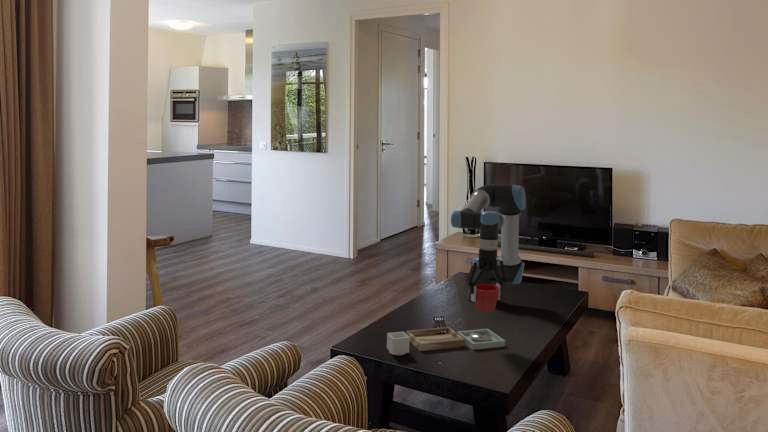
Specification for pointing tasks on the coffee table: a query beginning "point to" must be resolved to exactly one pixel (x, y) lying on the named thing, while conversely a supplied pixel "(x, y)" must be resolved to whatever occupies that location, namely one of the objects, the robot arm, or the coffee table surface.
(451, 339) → the wooden tray
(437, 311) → the coffee table surface
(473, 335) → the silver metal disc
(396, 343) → the white faceted planter
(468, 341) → the pale green square tray
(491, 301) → the flower pot
